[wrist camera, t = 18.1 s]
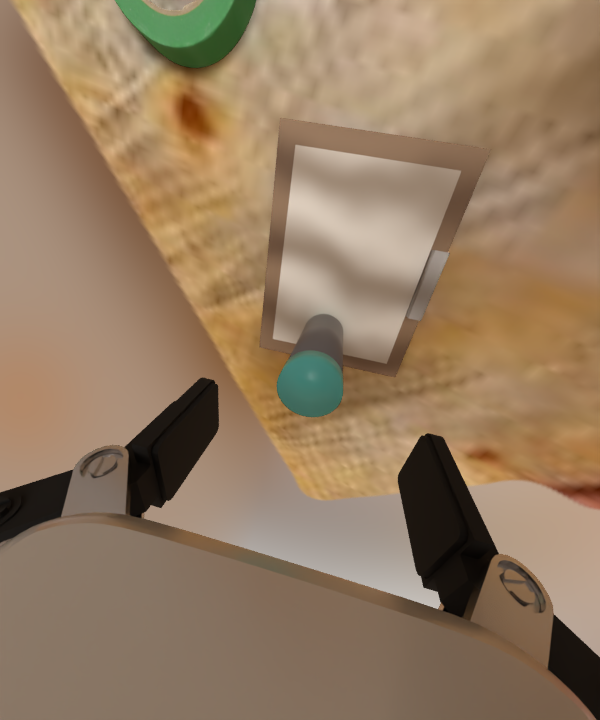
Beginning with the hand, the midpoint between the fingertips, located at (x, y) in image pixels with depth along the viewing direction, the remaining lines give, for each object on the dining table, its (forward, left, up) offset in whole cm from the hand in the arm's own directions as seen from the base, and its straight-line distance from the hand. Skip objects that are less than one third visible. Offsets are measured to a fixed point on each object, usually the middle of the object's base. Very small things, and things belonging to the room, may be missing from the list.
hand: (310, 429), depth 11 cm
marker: (+1, 0, -16) cm, 16 cm away
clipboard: (-5, +1, -17) cm, 18 cm away
